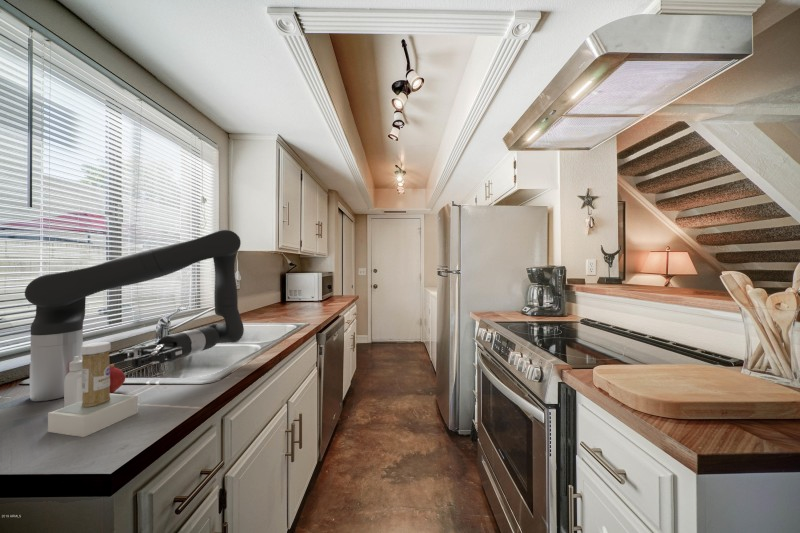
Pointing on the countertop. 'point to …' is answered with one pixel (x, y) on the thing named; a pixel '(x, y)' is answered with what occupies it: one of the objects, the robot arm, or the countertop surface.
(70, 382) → the eye dropper bottle
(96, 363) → the sprinkles bottle
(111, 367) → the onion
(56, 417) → the block
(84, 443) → the countertop surface
